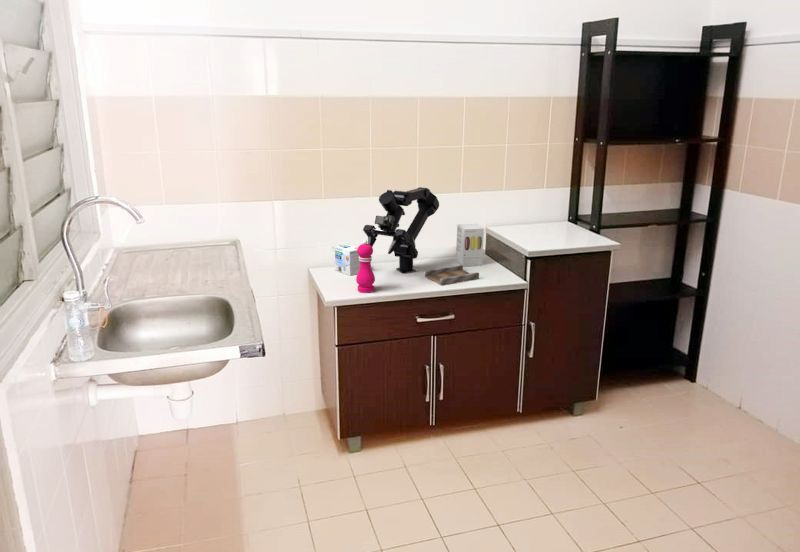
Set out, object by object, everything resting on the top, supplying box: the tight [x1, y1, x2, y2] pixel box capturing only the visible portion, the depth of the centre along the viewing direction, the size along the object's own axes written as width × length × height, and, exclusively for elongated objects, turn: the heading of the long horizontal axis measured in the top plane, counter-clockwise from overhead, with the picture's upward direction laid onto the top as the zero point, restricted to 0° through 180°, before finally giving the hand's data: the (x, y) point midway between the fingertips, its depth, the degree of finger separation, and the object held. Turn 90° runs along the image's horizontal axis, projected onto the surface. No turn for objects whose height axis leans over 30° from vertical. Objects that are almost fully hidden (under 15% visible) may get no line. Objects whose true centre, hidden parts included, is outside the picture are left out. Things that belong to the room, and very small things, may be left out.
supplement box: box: [455, 223, 485, 267], centre depth 273 cm, size 10×9×17 cm
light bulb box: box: [334, 243, 360, 277], centre depth 261 cm, size 11×7×11 cm, turn 42°
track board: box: [424, 264, 480, 286], centre depth 255 cm, size 18×13×2 cm
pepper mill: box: [355, 239, 376, 294], centre depth 237 cm, size 7×7×20 cm
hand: (378, 252), depth 242 cm, fingers open, 9 cm apart
